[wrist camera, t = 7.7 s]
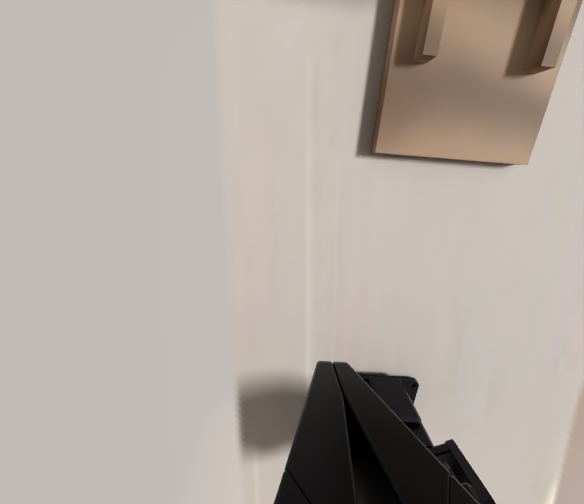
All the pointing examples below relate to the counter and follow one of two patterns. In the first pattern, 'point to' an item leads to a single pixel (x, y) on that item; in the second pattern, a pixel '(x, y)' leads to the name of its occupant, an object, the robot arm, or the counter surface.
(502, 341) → the counter surface
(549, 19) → the mount
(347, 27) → the counter surface
